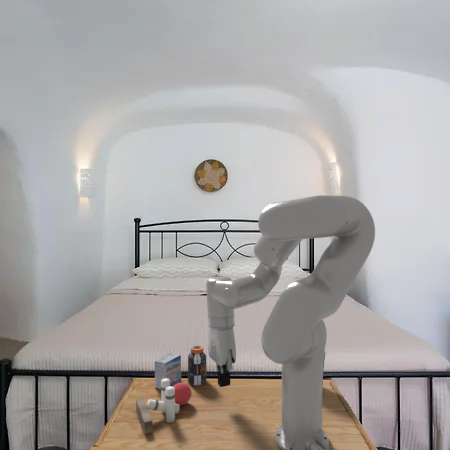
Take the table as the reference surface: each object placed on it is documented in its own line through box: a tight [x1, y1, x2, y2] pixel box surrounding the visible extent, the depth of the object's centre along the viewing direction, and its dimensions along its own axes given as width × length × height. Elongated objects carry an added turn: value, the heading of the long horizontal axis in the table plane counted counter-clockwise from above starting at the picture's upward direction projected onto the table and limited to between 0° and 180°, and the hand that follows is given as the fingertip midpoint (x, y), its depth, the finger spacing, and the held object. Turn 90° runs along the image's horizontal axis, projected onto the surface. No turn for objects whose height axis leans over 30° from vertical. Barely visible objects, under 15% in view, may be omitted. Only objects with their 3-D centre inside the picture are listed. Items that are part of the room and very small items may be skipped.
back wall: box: [135, 397, 154, 435], centre depth 99 cm, size 12×2×3 cm, turn 23°
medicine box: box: [154, 352, 182, 390], centre depth 118 cm, size 8×4×9 cm, turn 148°
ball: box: [173, 382, 192, 406], centre depth 106 cm, size 6×6×6 cm
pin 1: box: [160, 378, 170, 414], centre depth 103 cm, size 2×2×8 cm
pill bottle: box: [187, 345, 207, 386], centre depth 120 cm, size 6×6×11 cm
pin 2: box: [165, 386, 176, 423], centre depth 99 cm, size 2×2×8 cm
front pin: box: [146, 398, 181, 415], centre depth 101 cm, size 2×2×8 cm
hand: (224, 384), depth 106 cm, fingers closed
